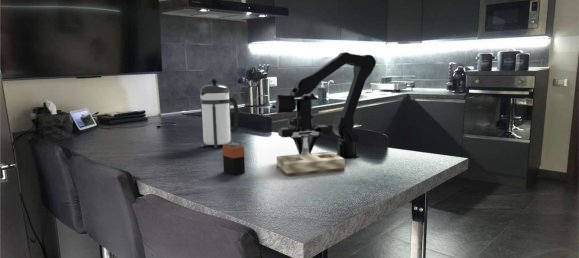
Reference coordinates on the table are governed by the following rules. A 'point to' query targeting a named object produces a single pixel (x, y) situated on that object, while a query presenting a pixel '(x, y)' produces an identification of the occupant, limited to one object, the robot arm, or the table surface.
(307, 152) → the pin
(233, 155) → the battery
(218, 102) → the coffee press
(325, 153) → the bore block
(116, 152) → the table surface
